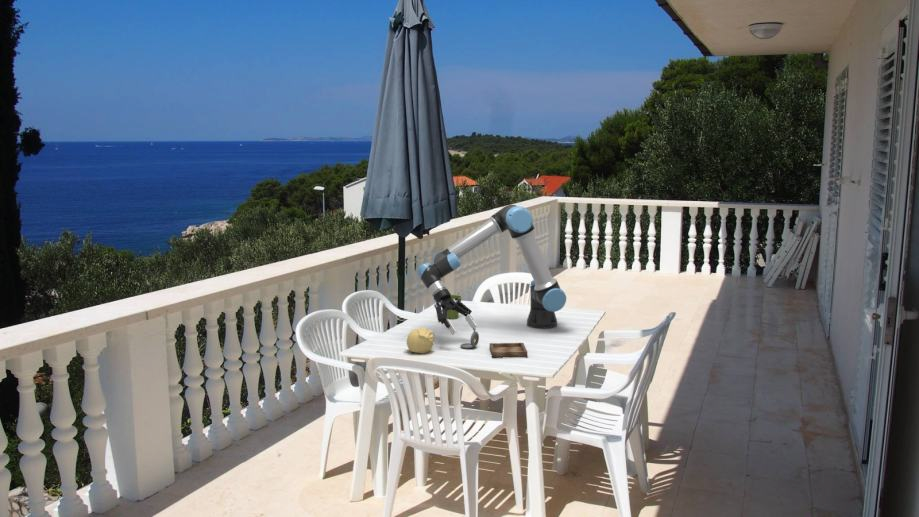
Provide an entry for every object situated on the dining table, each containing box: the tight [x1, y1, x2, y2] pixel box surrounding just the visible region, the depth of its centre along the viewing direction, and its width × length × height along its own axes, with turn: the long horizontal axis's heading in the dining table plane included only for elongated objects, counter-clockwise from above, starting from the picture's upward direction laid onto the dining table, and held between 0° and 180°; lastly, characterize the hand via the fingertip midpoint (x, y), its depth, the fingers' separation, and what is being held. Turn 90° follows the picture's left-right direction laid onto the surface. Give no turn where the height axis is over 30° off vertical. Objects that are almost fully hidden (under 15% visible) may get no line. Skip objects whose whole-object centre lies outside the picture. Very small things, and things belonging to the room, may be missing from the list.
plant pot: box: [447, 294, 463, 320], centre depth 395 cm, size 12×12×11 cm
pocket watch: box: [459, 326, 480, 350], centre depth 336 cm, size 8×8×10 cm
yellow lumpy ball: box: [406, 326, 435, 354], centre depth 331 cm, size 12×12×11 cm
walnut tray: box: [489, 342, 528, 359], centre depth 327 cm, size 15×15×2 cm
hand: (464, 330), depth 337 cm, fingers open, 13 cm apart
